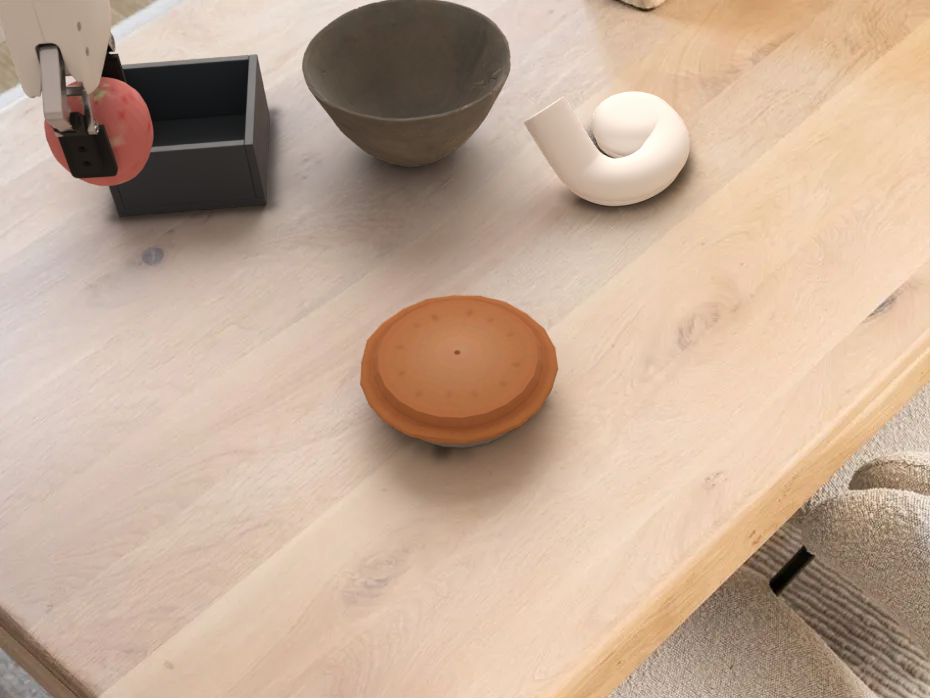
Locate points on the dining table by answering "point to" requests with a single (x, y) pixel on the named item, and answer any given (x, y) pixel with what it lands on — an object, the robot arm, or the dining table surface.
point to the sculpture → (614, 147)
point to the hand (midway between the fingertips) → (102, 137)
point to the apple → (114, 129)
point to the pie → (458, 370)
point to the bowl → (408, 76)
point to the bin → (200, 136)
